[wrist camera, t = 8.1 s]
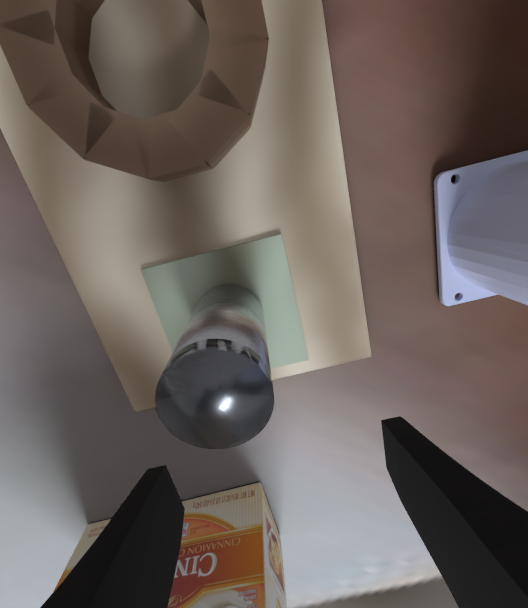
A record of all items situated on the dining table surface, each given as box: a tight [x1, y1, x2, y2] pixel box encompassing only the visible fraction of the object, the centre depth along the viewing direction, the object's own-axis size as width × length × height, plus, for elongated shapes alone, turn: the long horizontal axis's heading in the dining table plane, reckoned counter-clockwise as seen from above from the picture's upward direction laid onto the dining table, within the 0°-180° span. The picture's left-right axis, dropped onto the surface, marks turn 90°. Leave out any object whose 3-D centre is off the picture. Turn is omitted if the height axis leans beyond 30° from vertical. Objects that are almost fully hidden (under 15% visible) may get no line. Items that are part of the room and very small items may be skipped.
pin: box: [155, 284, 274, 449], centre depth 14 cm, size 4×4×8 cm
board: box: [0, 0, 371, 412], centre depth 15 cm, size 16×24×4 cm, turn 13°
